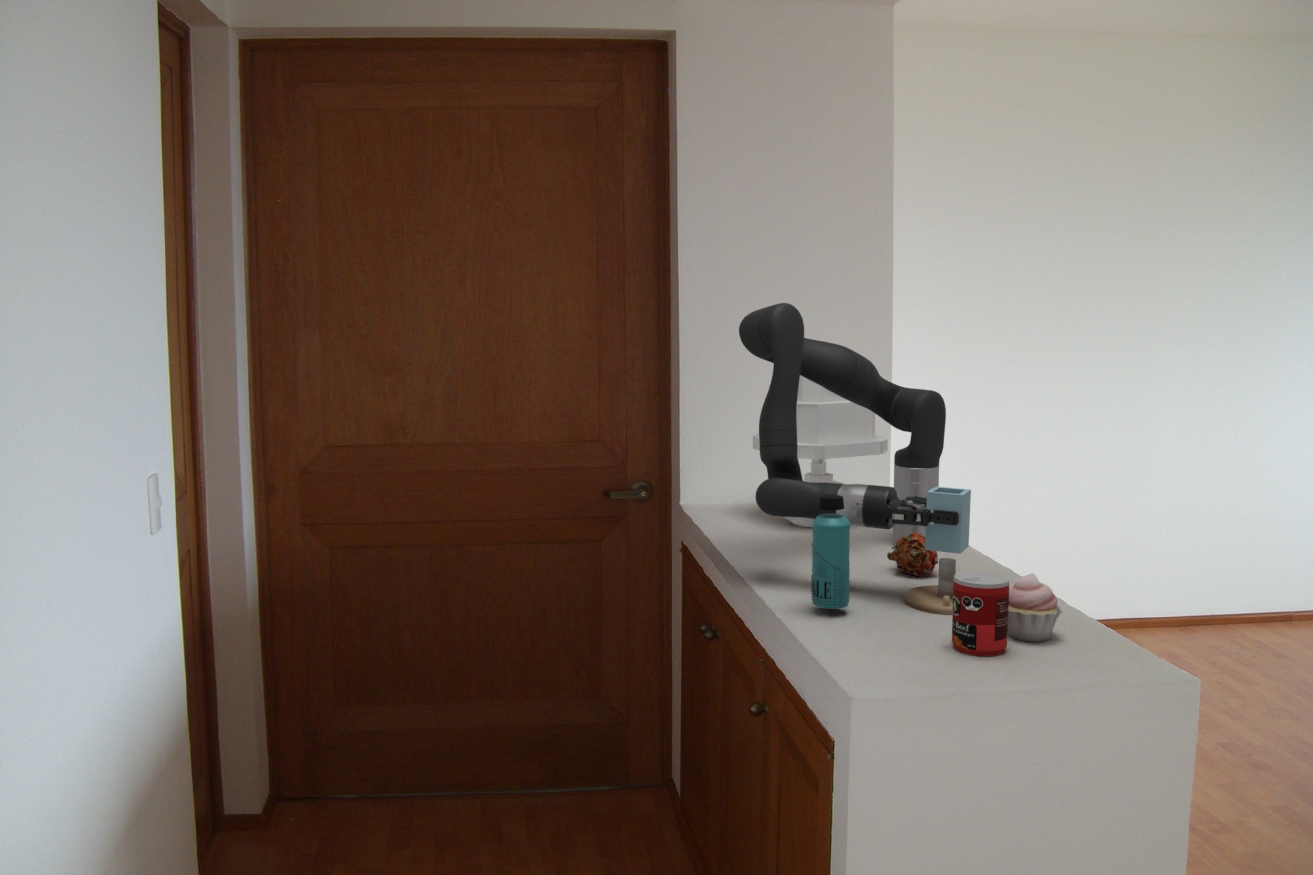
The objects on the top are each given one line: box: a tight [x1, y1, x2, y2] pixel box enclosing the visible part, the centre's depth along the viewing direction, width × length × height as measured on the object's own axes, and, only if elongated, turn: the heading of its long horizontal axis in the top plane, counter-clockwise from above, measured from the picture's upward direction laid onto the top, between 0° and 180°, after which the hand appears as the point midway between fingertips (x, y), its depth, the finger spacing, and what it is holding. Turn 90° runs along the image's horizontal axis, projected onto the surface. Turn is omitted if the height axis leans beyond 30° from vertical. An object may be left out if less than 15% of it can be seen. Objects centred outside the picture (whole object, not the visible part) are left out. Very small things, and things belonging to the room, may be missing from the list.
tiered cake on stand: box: [752, 375, 889, 528], centre depth 249 cm, size 27×27×35 cm
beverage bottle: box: [810, 495, 851, 610], centre depth 179 cm, size 6×7×20 cm
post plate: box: [904, 557, 957, 616], centre depth 184 cm, size 14×14×8 cm
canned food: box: [951, 570, 1010, 657], centre depth 160 cm, size 8×8×11 cm
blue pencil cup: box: [925, 486, 972, 555], centre depth 183 cm, size 6×6×10 cm
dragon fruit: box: [886, 532, 939, 577], centre depth 205 cm, size 8×8×12 cm
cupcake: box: [1007, 572, 1063, 643], centre depth 166 cm, size 9×9×10 cm
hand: (962, 515), depth 182 cm, fingers closed on blue pencil cup, 6 cm apart
